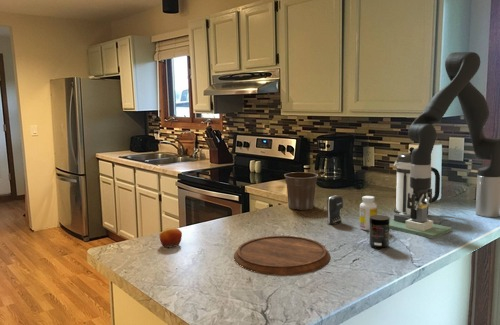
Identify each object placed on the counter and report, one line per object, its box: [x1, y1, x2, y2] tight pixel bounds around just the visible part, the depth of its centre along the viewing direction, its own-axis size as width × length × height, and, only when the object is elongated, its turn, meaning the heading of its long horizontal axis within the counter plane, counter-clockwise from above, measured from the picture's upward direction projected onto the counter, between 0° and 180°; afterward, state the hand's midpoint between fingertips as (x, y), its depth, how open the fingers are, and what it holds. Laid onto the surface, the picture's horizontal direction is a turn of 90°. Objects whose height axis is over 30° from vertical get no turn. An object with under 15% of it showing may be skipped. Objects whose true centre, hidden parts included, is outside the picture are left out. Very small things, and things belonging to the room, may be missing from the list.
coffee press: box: [393, 146, 441, 217], centre depth 188 cm, size 17×16×30 cm
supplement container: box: [368, 214, 391, 250], centre depth 149 cm, size 7×7×10 cm
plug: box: [412, 203, 429, 223], centre depth 166 cm, size 4×4×9 cm
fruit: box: [159, 227, 183, 248], centre depth 155 cm, size 8×8×8 cm
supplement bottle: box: [359, 195, 378, 231], centre depth 169 cm, size 7×7×13 cm
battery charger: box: [326, 195, 344, 225], centre depth 178 cm, size 7×4×11 cm, turn 134°
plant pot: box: [283, 171, 319, 211], centre depth 206 cm, size 16×16×16 cm
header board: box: [389, 212, 453, 239], centre depth 168 cm, size 14×22×5 cm, turn 40°
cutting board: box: [233, 235, 331, 276], centre depth 143 cm, size 32×32×3 cm
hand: (419, 216), depth 166 cm, fingers open, 8 cm apart
